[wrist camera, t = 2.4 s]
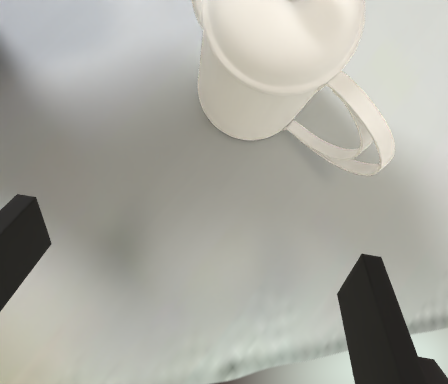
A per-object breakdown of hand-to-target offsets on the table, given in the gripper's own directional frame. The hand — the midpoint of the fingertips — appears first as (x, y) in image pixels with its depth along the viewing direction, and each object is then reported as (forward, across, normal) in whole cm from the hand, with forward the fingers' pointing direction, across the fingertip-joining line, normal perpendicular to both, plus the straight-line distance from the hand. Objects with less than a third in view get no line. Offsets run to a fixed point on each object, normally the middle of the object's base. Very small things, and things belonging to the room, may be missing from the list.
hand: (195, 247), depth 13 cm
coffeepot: (+24, +1, -1) cm, 24 cm away
